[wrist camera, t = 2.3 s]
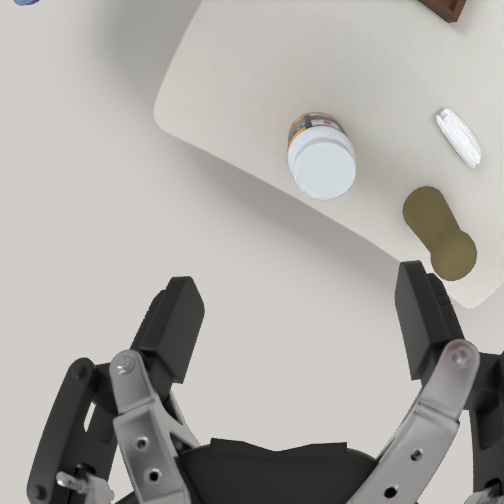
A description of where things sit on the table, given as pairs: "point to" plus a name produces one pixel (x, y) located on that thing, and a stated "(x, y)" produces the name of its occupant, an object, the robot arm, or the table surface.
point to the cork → (440, 233)
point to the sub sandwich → (460, 137)
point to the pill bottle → (321, 156)
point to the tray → (446, 8)
